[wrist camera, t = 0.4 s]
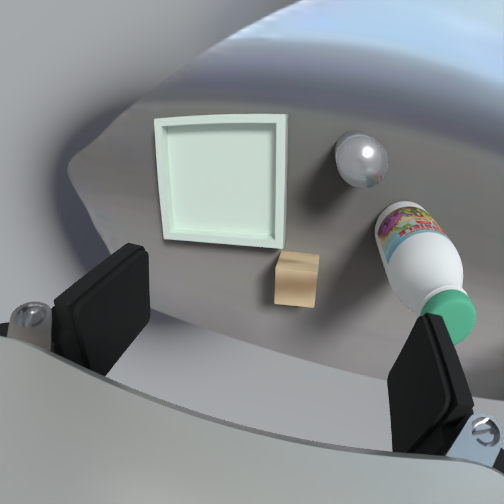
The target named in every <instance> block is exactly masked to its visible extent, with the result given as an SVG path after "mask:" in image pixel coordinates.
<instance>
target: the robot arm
mask: <svg viewBox="0 0 504 504" xmlns="http://www.w3.org/2000/svg"><path fill="white" fill-rule="evenodd" d="M54 304H55V306H54V307H53V308H52V309H51V308H50V307H49V306H48V305H47V304H45V303H42V302H28V303H25V304H23V305H20V306H19V307H18V308H16V309H15V310H14V311H13V313H12V315H11V317H10V322H8V323H1V324H0V504H504V450H503V449H502V448H501V446H502V444H503V440H504V435H503V430H502V427H501V426H500V424H499V423H498V422H497V420H496V419H495V418H493V417H492V416H490V415H488V414H485V413H475V414H474V413H473V409H472V408H473V406H474V403H473V399H472V396H471V393H470V390H469V387H468V384H467V381H466V378H465V375H464V372H463V369H462V366H461V363H460V361H459V358H458V355H457V353H456V350H455V347H454V345H453V342H452V340H451V337H450V334H449V332H448V330H447V327H446V325H445V322H444V320H443V317H442V316H441V315H436V314H432V313H425V314H424V315H423V316H419V317H418V319H417V320H416V323H415V325H414V327H413V329H412V331H411V333H410V335H409V337H408V339H407V341H406V343H405V345H404V347H403V348H402V350H401V352H400V354H399V356H398V358H397V360H396V362H395V363H394V365H393V367H392V369H391V371H390V372H389V375H388V379H387V385H388V394H389V404H390V416H391V431H392V449H393V452H388V451H379V450H370V449H361V448H353V447H346V446H339V445H333V444H326V443H321V442H315V441H310V440H304V439H299V438H294V437H290V436H285V435H280V434H276V433H271V432H267V431H263V430H258V429H255V428H251V427H247V426H243V425H239V424H235V423H232V422H229V421H225V420H221V419H218V418H215V417H212V416H208V415H205V414H202V413H199V412H196V411H193V410H190V409H187V408H184V407H181V406H178V405H175V404H172V403H169V402H167V401H164V400H161V399H158V398H156V397H153V396H150V395H148V394H145V393H142V392H140V391H138V390H135V389H133V388H130V387H128V386H125V385H123V384H121V383H118V382H116V381H114V380H111V379H109V378H107V377H105V376H106V375H107V373H108V372H109V371H110V369H111V368H112V367H113V365H114V364H115V363H116V362H117V361H118V359H119V358H120V357H121V356H122V354H123V353H124V352H125V350H126V349H127V348H128V347H129V346H130V344H131V343H132V342H133V341H134V339H135V338H136V337H137V335H138V334H139V333H140V332H141V331H142V329H143V328H144V327H145V326H146V324H147V323H148V321H149V318H150V295H149V256H148V252H146V251H145V249H144V247H143V246H139V245H135V244H132V243H127V244H125V245H124V246H123V247H121V248H120V249H119V250H117V251H116V252H115V253H113V254H112V255H110V256H109V257H108V258H107V259H105V260H104V261H103V262H101V263H100V264H99V265H97V266H96V267H95V268H93V269H92V270H91V271H89V272H88V273H87V274H86V275H84V276H83V277H82V278H81V279H79V280H78V281H77V282H75V283H74V284H73V285H72V286H70V287H69V288H68V289H67V290H65V291H64V292H63V293H62V294H61V295H59V296H58V297H57V298H56V299H54Z"/></svg>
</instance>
